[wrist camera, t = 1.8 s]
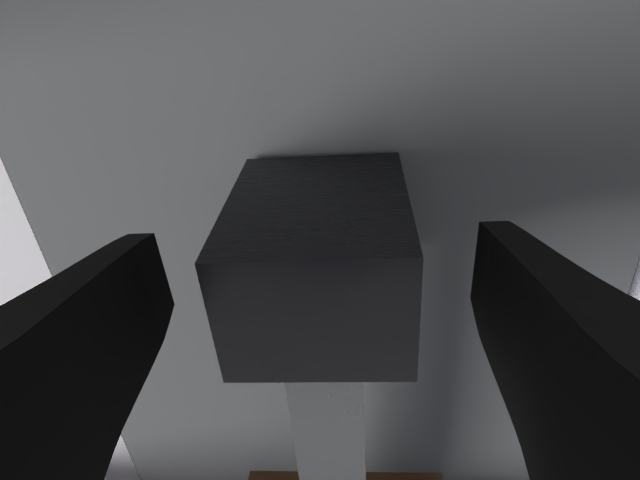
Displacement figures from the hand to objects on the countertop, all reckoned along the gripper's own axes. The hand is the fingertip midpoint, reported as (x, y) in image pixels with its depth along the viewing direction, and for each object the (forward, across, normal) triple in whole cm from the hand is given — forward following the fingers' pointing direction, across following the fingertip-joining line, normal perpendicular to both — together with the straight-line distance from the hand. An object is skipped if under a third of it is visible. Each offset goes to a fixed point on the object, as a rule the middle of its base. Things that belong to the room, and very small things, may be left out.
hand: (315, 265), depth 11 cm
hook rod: (+3, 0, +9) cm, 9 cm away
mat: (+4, 0, +6) cm, 7 cm away
